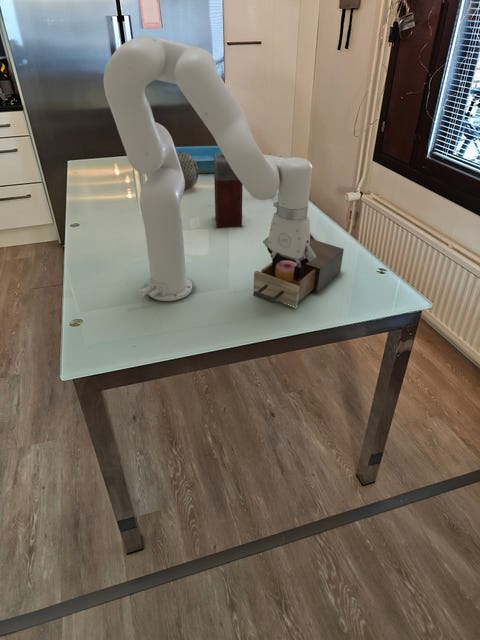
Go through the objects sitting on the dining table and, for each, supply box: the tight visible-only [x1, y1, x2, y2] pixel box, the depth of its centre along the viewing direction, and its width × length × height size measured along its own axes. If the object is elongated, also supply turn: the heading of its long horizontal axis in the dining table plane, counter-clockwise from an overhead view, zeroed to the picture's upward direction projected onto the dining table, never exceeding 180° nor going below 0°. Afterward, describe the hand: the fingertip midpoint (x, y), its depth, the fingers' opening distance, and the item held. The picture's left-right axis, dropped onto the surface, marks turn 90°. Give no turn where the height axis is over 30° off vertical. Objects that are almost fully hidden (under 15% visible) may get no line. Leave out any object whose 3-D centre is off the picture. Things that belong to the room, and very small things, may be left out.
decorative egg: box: [177, 152, 199, 191], centre depth 189 cm, size 12×12×15 cm
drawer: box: [252, 258, 317, 309], centre depth 125 cm, size 19×13×6 cm
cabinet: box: [279, 239, 345, 295], centre depth 134 cm, size 14×14×8 cm
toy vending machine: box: [213, 153, 244, 229], centre depth 159 cm, size 9×11×28 cm
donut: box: [275, 260, 297, 281], centre depth 124 cm, size 6×6×3 cm
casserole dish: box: [175, 145, 222, 174], centre depth 214 cm, size 37×22×7 cm, turn 97°
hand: (286, 273), depth 125 cm, fingers closed on donut, 6 cm apart
